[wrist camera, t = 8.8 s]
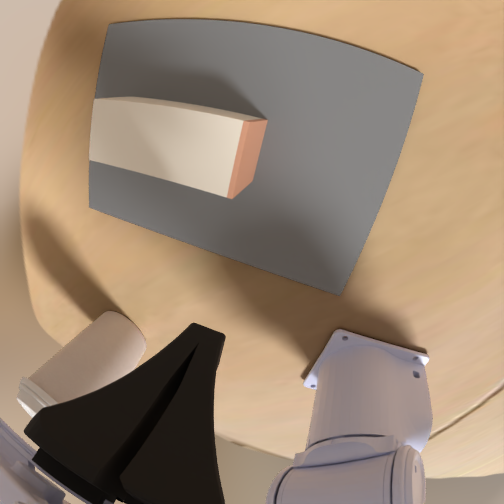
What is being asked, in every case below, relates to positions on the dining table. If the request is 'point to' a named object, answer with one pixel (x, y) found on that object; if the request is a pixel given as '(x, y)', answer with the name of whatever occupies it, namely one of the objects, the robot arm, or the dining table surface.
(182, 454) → the robot arm
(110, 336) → the coffee cup
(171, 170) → the block
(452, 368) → the dining table surface
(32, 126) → the dining table surface
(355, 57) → the mat
